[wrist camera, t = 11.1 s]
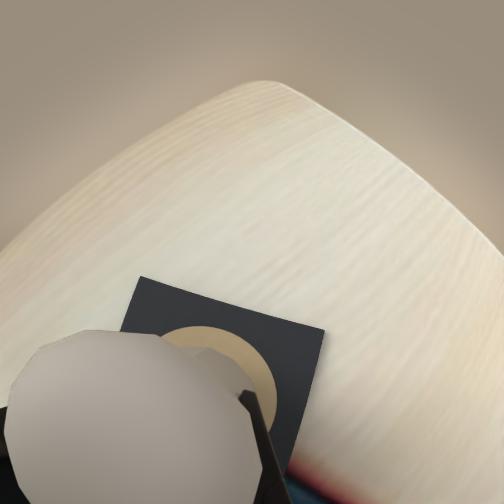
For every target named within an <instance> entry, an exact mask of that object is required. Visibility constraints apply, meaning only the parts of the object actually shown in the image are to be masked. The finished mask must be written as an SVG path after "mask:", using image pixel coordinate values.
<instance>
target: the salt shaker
mask: <svg viewBox="0 0 504 504" xmlns="http://www.w3.org/2000/svg"><path fill="white" fill-rule="evenodd" d="M244 389H246V390H250V391H253V392H255V390H254V385H253V382H252V381H251V380H250V379H249V377H248V376H247V375H246V374H245V373H244V371H243V370H242V369H241V368H240V366H239V365H238V364H237V363H236V362H235V360H233V359H231V358H229V357H227V356H225V355H223V354H221V353H219V352H217V351H215V350H213V349H212V348H210V347H195V346H179V347H176V346H174V345H173V344H171V343H169V342H168V341H166V340H164V339H162V338H161V337H159V336H157V335H154V334H140V333H127V332H116V331H105V330H84V331H81V332H79V333H76V334H74V335H71V336H69V337H66V338H63V339H61V340H58V341H56V342H53V343H51V344H48V345H45V346H43V347H40V348H39V349H38V350H37V351H36V353H35V354H34V355H33V357H32V358H31V359H30V361H29V362H28V363H27V365H26V366H25V367H24V369H23V370H22V372H21V373H20V374H19V376H18V377H17V378H16V380H15V381H14V383H13V384H12V386H11V391H10V396H9V402H8V407H7V413H6V420H5V427H4V436H5V440H6V444H7V448H8V452H9V456H10V459H11V463H12V466H13V470H14V473H15V476H16V479H17V482H18V485H19V487H20V489H21V490H22V492H23V493H24V495H25V496H26V498H27V499H28V501H29V502H30V503H31V504H253V502H254V498H255V495H256V491H257V488H258V484H259V480H260V476H261V473H262V469H263V468H262V464H261V460H260V456H259V452H258V448H257V443H256V439H255V435H254V431H253V426H252V422H251V418H250V413H249V412H248V411H247V410H246V409H245V407H244V406H243V405H242V404H241V403H240V402H239V401H240V396H241V393H242V390H244Z"/></svg>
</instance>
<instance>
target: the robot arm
mask: <svg viewBox="0 0 504 504" xmlns="http://www.w3.org/2000/svg"><path fill="white" fill-rule="evenodd" d="M239 402H240V403H241V404H242V405H243V406H244V407H245V409H246V410H247V411H248V412H249V413H250V418H251V422H252V426H253V431H254V435H255V439H256V443H257V448H258V452H259V456H260V460H261V464H262V468H263V469H262V473H261V476H260V480H259V484H258V488H257V491H256V495H255V498H254V502H253V504H293V503H292V501H291V498H290V495H289V493H288V490H287V488H286V485H285V482H284V479H283V478H282V477H283V476H282V473H281V470H280V467H279V464H278V461H277V458H276V455H275V452H274V449H273V446H272V443H271V439H270V436H269V433H268V430H267V427H266V424H265V421H264V417H263V414H262V411H261V408H260V405H259V401H258V398H257V395H256V393H255V392H253V391H250V390H246V389H244V390H242V393H241V396H240V401H239ZM7 407H8V406H7ZM7 407H4V408H0V504H31V503H30V502H29V501H28V499H27V498H26V496H25V495H24V493H23V492H22V490H21V489H20V487H19V485H18V482H17V479H16V476H15V473H14V470H13V466H12V463H11V459H10V456H9V452H8V448H7V444H6V440H5V436H4V427H5V420H6V413H7Z"/></svg>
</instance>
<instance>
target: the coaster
mask: <svg viewBox="0 0 504 504" xmlns="http://www.w3.org/2000/svg"><path fill="white" fill-rule="evenodd" d="M120 332H127V333H140V334H154V335H157V336H159V337H161V338H162V339H164V340H166V341H168V342H169V343H171V344H173V345H174V346H176V347H179V346H195V347H210V348H212V349H213V350H215V351H217V352H219V353H221V354H223V355H225V356H227V357H229V358H231V359H233V360H235V362H236V363H237V364H238V365H239V366H240V368H241V369H242V370H243V371H244V373H245V374H246V375H247V376H248V377H249V379H250V380H251V381H252V382H253V385H254V390H255V393H256V395H257V398H258V401H259V405H260V408H261V411H262V414H263V417H264V421H265V424H266V427H267V430H268V433H269V436H270V439H271V443H272V446H273V449H274V452H275V455H276V458H277V461H278V464H279V467H280V470H281V473H282V476H283V477H284V474H285V471H286V468H287V465H288V462H289V459H290V456H291V453H292V450H293V447H294V444H295V441H296V437H297V434H298V431H299V427H300V424H301V421H302V417H303V414H304V410H305V407H306V403H307V399H308V396H309V392H310V388H311V385H312V381H313V377H314V373H315V369H316V365H317V361H318V357H319V353H320V348H321V344H322V340H323V335H324V330H323V329H319V328H315V327H311V326H307V325H303V324H299V323H295V322H291V321H288V320H284V319H280V318H277V317H273V316H269V315H266V314H262V313H258V312H255V311H251V310H248V309H244V308H241V307H238V306H234V305H231V304H227V303H224V302H221V301H217V300H214V299H211V298H207V297H204V296H201V295H198V294H194V293H191V292H188V291H185V290H182V289H179V288H175V287H172V286H169V285H166V284H163V283H160V282H157V281H154V280H151V279H148V278H145V277H142V276H140V278H139V281H138V283H137V286H136V288H135V291H134V294H133V296H132V299H131V302H130V304H129V307H128V310H127V313H126V315H125V318H124V321H123V324H122V327H121V330H120ZM283 477H282V478H283Z"/></svg>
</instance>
